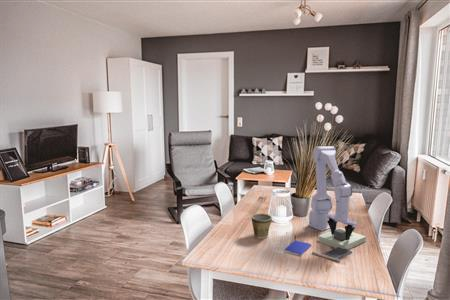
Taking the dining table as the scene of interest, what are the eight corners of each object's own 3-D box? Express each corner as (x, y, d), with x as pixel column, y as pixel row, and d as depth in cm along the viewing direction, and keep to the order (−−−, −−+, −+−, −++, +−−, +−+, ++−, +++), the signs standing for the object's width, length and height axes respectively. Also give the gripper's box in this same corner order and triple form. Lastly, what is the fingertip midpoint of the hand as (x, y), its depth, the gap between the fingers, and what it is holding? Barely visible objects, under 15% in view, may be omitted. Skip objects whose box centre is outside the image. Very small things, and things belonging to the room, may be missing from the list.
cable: (311, 253, 142) (312, 251, 142) (313, 252, 143) (313, 250, 143) (339, 262, 135) (339, 260, 134) (340, 261, 136) (340, 259, 135)
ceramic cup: (270, 241, 155) (271, 221, 153) (249, 239, 157) (250, 219, 155) (272, 230, 167) (272, 212, 166) (253, 229, 169) (253, 211, 168)
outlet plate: (318, 240, 156) (318, 235, 156) (340, 232, 167) (340, 227, 166) (343, 251, 145) (344, 245, 145) (365, 241, 155) (365, 236, 155)
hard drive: (295, 239, 154) (283, 249, 144) (311, 244, 150) (300, 254, 140) (294, 242, 155) (283, 252, 145) (311, 247, 150) (300, 257, 140)
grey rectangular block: (333, 242, 153) (334, 230, 153) (338, 240, 156) (339, 228, 155) (340, 245, 150) (341, 233, 149) (345, 243, 153) (346, 231, 152)
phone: (325, 254, 142) (325, 252, 142) (339, 247, 148) (340, 245, 148) (336, 259, 137) (337, 257, 137) (351, 252, 143) (351, 250, 143)
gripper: (323, 207, 154) (322, 234, 156) (351, 215, 143) (349, 244, 145) (332, 204, 158) (331, 230, 160) (360, 212, 147) (357, 240, 149)
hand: (340, 237), depth 153 cm, fingers open, 7 cm apart
